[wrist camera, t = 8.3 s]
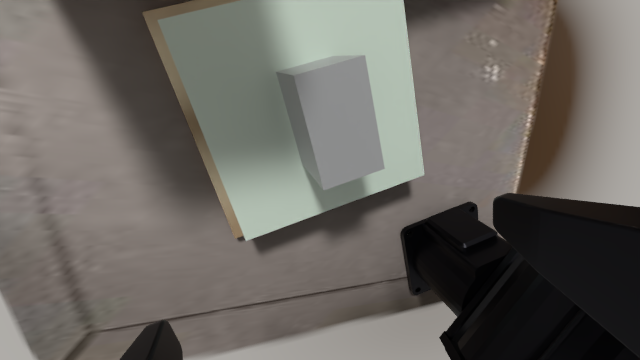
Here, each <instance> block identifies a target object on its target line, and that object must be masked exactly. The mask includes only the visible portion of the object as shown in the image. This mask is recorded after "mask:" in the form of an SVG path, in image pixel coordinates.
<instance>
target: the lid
mask: <svg viewBox="0 0 640 360" xmlns="http://www.w3.org/2000/svg"><path fill="white" fill-rule="evenodd" d="M158 23H159V25H160V28H161V30H162V33H163V35H164V38H165V40H166V43H167V45H168V48H169V50H170V53H171V55H172V58H173V60H174V63H175V65H176V68H177V70H178V73H179V75H180V78H181V80H182V83H183V85H184V88H185V90H186V93H187V95H188V98H189V100H190V103H191V105H192V108H193V110H194V113H195V115H196V118H197V120H198V123H199V125H200V128H201V130H202V133H203V135H204V138H205V140H206V143H207V145H208V148H209V150H210V153H211V155H212V158H213V160H214V163H215V165H216V168H217V170H218V173H219V175H220V178H221V180H222V183H223V185H224V188H225V190H226V193H227V195H228V198H229V200H230V203H231V205H232V208H233V210H234V212H235V215H236V217H237V220H238V222H239V225H240V227H241V230H242V232H243V235H244V237H245V240H246V241H248V240H250V239H253V238H256V237H258V236H261V235H264V234H266V233H269V232H272V231H275V230H277V229H280V228H283V227H285V226H288V225H291V224H293V223H296V222H299V221H302V220H304V219H307V218H310V217H312V216H315V215H318V214H320V213H323V212H326V211H329V210H331V209H334V208H337V207H339V206H342V205H345V204H347V203H350V202H353V201H356V200H358V199H361V198H364V197H366V196H369V195H372V194H374V193H377V192H380V191H383V190H385V189H388V188H391V187H393V186H396V185H399V184H401V183H404V182H407V181H410V180H412V179H415V178H418V177H420V176H423V175H424V167H423V159H422V150H421V142H420V134H419V125H418V117H417V109H416V100H415V92H414V84H413V75H412V67H411V59H410V50H409V42H408V34H407V25H406V17H405V9H404V0H240V1H236V2H231V3H227V4H223V5H219V6H214V7H210V8H206V9H202V10H197V11H193V12H189V13H185V14H180V15H176V16H172V17H168V18H164V19H159V20H158Z"/></svg>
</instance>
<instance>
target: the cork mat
mask: <svg viewBox="0 0 640 360" xmlns="http://www.w3.org/2000/svg"><path fill="white" fill-rule="evenodd" d="M236 1H240V0H193V1H189V2H185V3H180V4H176V5H171V6H167V7H163V8H158V9H154V10H149V11H145V12H142V14H143V16H144V18H145V21H146V23H147V26H148V28H149V31H150V33H151V35H152V38H153V40H154V43H155V45H156V48H157V50H158V52H159V55H160V57H161V60H162V62H163V65H164V67H165V69H166V72H167V74H168V77H169V79H170V82H171V84H172V86H173V89H174V91H175V94H176V96H177V99H178V101H179V103H180V106H181V108H182V111H183V113H184V116H185V118H186V120H187V123H188V125H189V128H190V130H191V133H192V135H193V137H194V140H195V142H196V145H197V147H198V150H199V152H200V154H201V157H202V159H203V162H204V164H205V167H206V169H207V171H208V174H209V176H210V179H211V181H212V184H213V186H214V188H215V191H216V193H217V196H218V198H219V201H220V203H221V205H222V208H223V210H224V213H225V215H226V217H227V220H228V222H229V225H230V227H231V230H232V232H233V234H234V237H235V239H236V238H238V237H241V236H244V235H243V232H242V230H241V227H240V225H239V222H238V220H237V217H236V215H235V212H234V210H233V208H232V205H231V203H230V200H229V198H228V195H227V193H226V190H225V188H224V185H223V183H222V180H221V178H220V175H219V173H218V170H217V168H216V165H215V163H214V160H213V158H212V155H211V153H210V150H209V148H208V145H207V143H206V140H205V138H204V135H203V133H202V130H201V128H200V125H199V123H198V120H197V118H196V115H195V113H194V110H193V108H192V105H191V103H190V100H189V98H188V95H187V93H186V90H185V88H184V85H183V83H182V80H181V78H180V75H179V73H178V70H177V68H176V65H175V63H174V60H173V58H172V55H171V53H170V50H169V48H168V45H167V43H166V40H165V38H164V35H163V33H162V30H161V28H160V25H159V23H158V20H159V19H164V18H168V17H172V16H176V15H180V14H185V13H189V12H193V11H197V10H202V9H206V8H210V7H214V6H219V5H223V4H227V3H231V2H236Z"/></svg>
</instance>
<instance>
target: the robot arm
mask: <svg viewBox="0 0 640 360" xmlns="http://www.w3.org/2000/svg"><path fill="white" fill-rule="evenodd" d="M470 208H471V209H470ZM469 209H470V210H469ZM493 225H494V227H495V229H496V230H497V232H498V233H499V234H500V235H501V236H502V237H503V238H504V239H505V240H504V239H502V238H501V237H499V236H498V235H497V232H496V231H495V230H493V229H492V228H490V227H488V226H487V225H485V224H484V223H482V222H480V221H479V220H478V208H477V205H476V204H475V203H473V202H467V203H464V204H462V205H459V206H457V207H454V208H451V209H449V210H446V211H444V212H441V213H439V214H436V215H434V216H431V217H429V218H426V219H424V220H421V221H419V222H416V223H414V224H411V225H409V226H406V227H405V228H403V229H402V231H401V237H402V243H403V249H404V255H405V261H406V267H407V274H408V280H409V286H410V290H411V292H412V293H413V294H414V295H419V294H421V293H423V292H425V291H428V290H430V289H432V290H433V291H434V292H435V293H436V294H437V295H438V296H439V298H440V299H441V300H442V301H443V302H444V303H445V304H446V305H447V306H448V307H449V308H450V309H451V310H452V311H453V312H454V313H455V315H456V316H457V318H456V320H455V321H454V322H453V324H452V325H451V326H450V327H449V328H448V330H447V331H444V332H443V334H442V335H441V336H440V337H439V338H440V339H441V342H442V343H443V345H444V347H445V350H446V352H447V354H448V355H449V357H450V359H451V360H640V207H633V206H624V205H615V204H606V203H596V202H588V201H578V200H569V199H559V198H551V197H542V196H532V195H523V194H514V193H506V194H503V195H501V196H498V197H496V198H495V199H494V201H493ZM408 232H410V233H409V234H408V235H407V233H408ZM416 288H417V289H416ZM120 360H183V355H182V348H181V345H180V343H179V341H178V339H177V337H176V335H175V333H174V331H173V329H172V328H171V326H170V324H169V322H168V321H167V320H161V321H158V322H155V323H153V324H150V325H148V326H146V327H145V328H144V330H143V331H142V332H141V333H140V335H139V336H138V337H137V338H136V340H135V341H134V342H133V343H132V345H131V346H130V347H129V348H128V350H127V351H126V352H125V353H124V355H123V356H122V357H121V358H120Z"/></svg>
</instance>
